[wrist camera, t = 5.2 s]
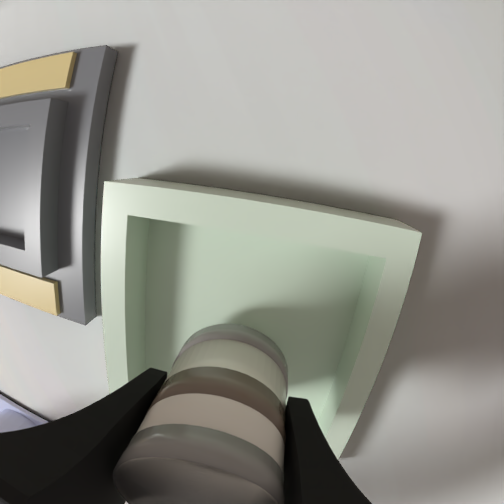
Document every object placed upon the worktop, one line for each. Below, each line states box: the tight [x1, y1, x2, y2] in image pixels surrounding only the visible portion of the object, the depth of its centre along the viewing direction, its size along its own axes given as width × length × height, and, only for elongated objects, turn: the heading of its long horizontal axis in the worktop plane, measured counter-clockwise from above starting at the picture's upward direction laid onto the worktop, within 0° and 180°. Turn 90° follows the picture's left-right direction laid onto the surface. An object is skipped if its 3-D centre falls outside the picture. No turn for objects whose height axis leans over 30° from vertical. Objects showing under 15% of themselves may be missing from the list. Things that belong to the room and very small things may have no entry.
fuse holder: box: [0, 45, 118, 325], centre depth 12 cm, size 12×10×2 cm
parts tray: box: [101, 178, 422, 459], centre depth 12 cm, size 13×10×2 cm
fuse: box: [113, 324, 288, 504], centre depth 9 cm, size 4×4×6 cm
